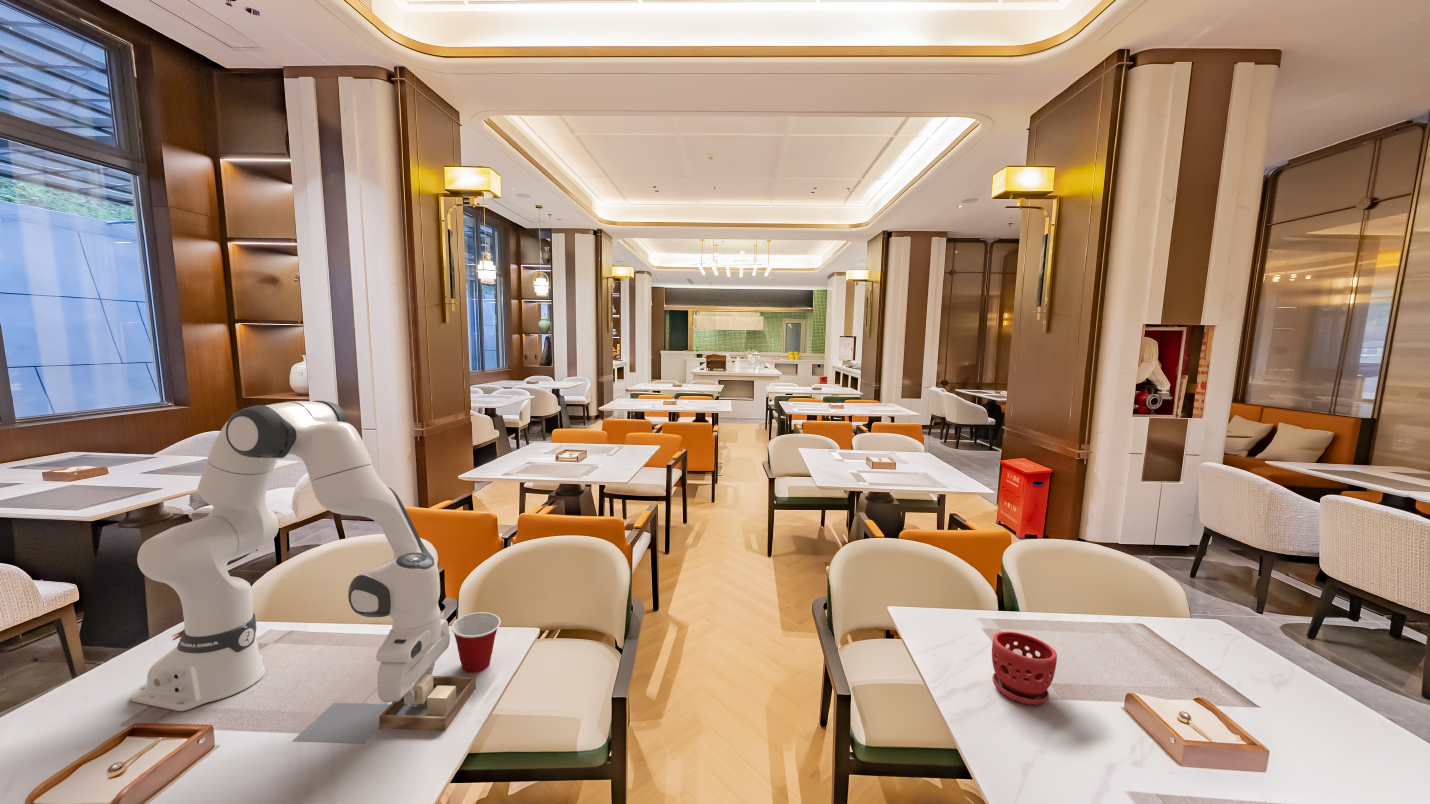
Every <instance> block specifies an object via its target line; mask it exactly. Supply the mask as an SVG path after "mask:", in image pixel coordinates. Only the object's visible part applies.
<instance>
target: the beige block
mask: <svg viewBox="0 0 1430 804" xmlns="http://www.w3.org/2000/svg"><path fill="white" fill-rule="evenodd" d="M456 699H457V690H456V686H437V687H436V688H435V689H433V692H432V693H431V694H430V695H429V696H428V698H427V700H426V702H427V703H426V706H427V708H426V709H427V715H437V716H441V715H442V716H444V715H445V714H446V712H447V711H448V710H449V708H450V707H451V706H452V704H453V703H454V702H455V701H456Z"/></svg>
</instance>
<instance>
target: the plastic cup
mask: <svg viewBox="0 0 1430 804" xmlns="http://www.w3.org/2000/svg"><path fill="white" fill-rule="evenodd" d="M501 624H502V621H501V617H499V616H498V615H496V614H494V613H491V612H484V611H480V612H479V611H478V612H471V613H468V614H465V615H462V616H460V617H458V618H457V619H455V620H454V621H453V623H452V624H451V631H452V632H453V634H454V635H453V636H454V638H455V642H456V647H457V651H458V656H459V661H460V664H461V665H460V666H461V669H462V671H463V672H464V673H466V674H467V673H468V674H475V673H479V672H481V671H484V670H486V669H487V668H488V667H489V666H490V664H491V660H492V659H491V658H492V655H493V649H494V644H495V638H496V634H497V631H498V629H499V627H500V625H501Z"/></svg>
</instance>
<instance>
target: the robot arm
mask: <svg viewBox="0 0 1430 804" xmlns="http://www.w3.org/2000/svg"><path fill="white" fill-rule="evenodd" d="M219 431H220V432H219V433H218V434H217V436H216V439H215V440H214V442H213V444H212V446H211V449H210V451H209V454H208V456H207V459H206V462H205V464H204V468H203V471H202V474H201V477H200V480H199V483H198V485H197V492H198V495H199V496H200V498H201V499H202V500H203V501H204V502H205V503H207V504H208V505H211V506H212V507H213V508H212V510H211V512H210V513H209V514H208V515H206V516H204V517H203V518H200V519H199V518H198V519H195V520H192V521H190V522H189V521H188V522H186V523H182V524H179V525H176V526H172V527H170V528H168V529H166V530H164V531H162V532H160V533H157V534H155V535H154V536H152V537H150V538H149V539H147V540H145V541H144V542H143V543H142V544H141V546H140V548H139V550H138V553H137V558H136V561H137V566H138V568H139V570H140V572H141V573H142V574H143V575H144V576H145V577H146V578H148V579H150V580H152V581H155V582H159V583H163V584H166V585H167V586H170V588H172V589H173V590H174V591H175V593H176V594H177V596H178V597H179V599H180V603H181V607H182V615H183V622H184V628H183V630H180V631H179V632H177V633H175V634H173V635H171V636H172V637H174V638H173V639H172V641H176V640H177V639H179V638H180V639H179V641H178V643H177V646H176V647H174V648H173V649H171V650H170V651H169V652H168V653H166V654H165V655H164V656H162V657H161V658H159V659H158V660H157V661H156V662H154V663H153V664H152V665H151V666H150V667H149V670H148V673H147V676H146V682H145V683H144V684H142V685H140V686H139V688H137V689H136V690H135V691H134V692H133V693H132V694H131V695H130V696H131V697H130V701H131V702H134V703H139V704H143V705H148V706H153V707H158V708H163V709H166V710H167V709H168V710H171V711H176V712H184V711H188V710H191V709H194V708H196V707H198V706H201V705H204V704H207V703H210V702H211V703H212V702H214V701H218V700H222V699H224V698H228V697H230V696H233V695H235V694H237V693H239V692H240V693H241V692H242V691H244V690H246V689H248V688H249V687H251V686H252V685H255V683H257V682H258V681H259V680H261V679H262V677H263V676H264V675H265V673H266V667H265V665H264V657H263V655H262V654H261V652H260V648H259V642H258V638H257V634H256V632H257V618H256V614H255V613H254V611H253V609H254V608H253V596H252V592H253V591H252V586H251V584H250V582H248V581H247V580H245V579H244V578H241V577H238V576H231V575H230V573H229V571H228V568H227V567H228V563H229V562H231V561H233V560H236V559H238V558H241V557H245V556H246V555H248V554H251V553H254V552H256V551H257V550H259V549H261V548H262V547H264V546H266V544H269V543H270V542H271V541H272V540H274V539H275V537H277V534H278V533H279V528H280V524H279V519H278V517H277V515H276V513H275V512H274V511H273V510H272V509H271V508H268V507H267V505H266V494H267V490H268V487H269V483H270V482H271V479H272V475H273V472H274V469H275V467H276V463H277V460H278V459H284V458H286V457H287V455H293V456H296V457H298V458H300V459H301V460H302V461H303V462H304V465H305V467H306V471H307V474H308V478H309V481H310V485H311V488H312V490H313V493H314V497H315V498H316V500H317V502H318V503H319V504H320V506H321V507H323V508H324V509H325V510H327V511H330V512H331V513H335V514H338V515H342V516H352V517H353V516H356V517H357V516H358V517H365V518H368V519H371V520H373V521H375V522H376V523H377V524H378V525H379V526H380V529H381V530H382V532H383V534H384V536H385V539H386V540H387V542H388V544H389V546H390V547H391V550H392V552H393V558H391V559H390V560H388V561H385V562H383V563H381V564H379V565H376V566H374V567H372V568H370V569H367V570H365V571H363V572H361V573H360V574H359V575H357V576H355V577H353V579H352V580H351V582H350V584H349V587H348V592H347V593H348V594H347V597H348V603H349V605H350V607H351V610H352V611H354V612H355V613H356V614H357V615H359V616H362V617H365V618H385V617H391V629H389V632H388V634H387V635H386V636H387V637H386V638H385V639H384V641H383V643H382V644H381V645H380V647H379V648H378V649H377V652H376V653H375V654H376V655H375V656H376V661H377V662H380V663H379V666H378V668H377V669H378V670H377V689H378V690H377V693H378V694H377V695H378V699H380V701H382V702H385V703H392V702H398V701H400V700H401V698H402V697H403V696H405V703H408V705H413V704H412V703H413V702H414V701H415V700H416V699H417V691H414V690H413V688H414V684H415V683H416V682H417V681H418V680H419V679H420V678H421V677H422V675H423V674H433V672H434V668H435V664H436V663H435V662H437V660H438V659H439V658H440V657H441V656H442V655H443V653H445V651H447V649H448V648H449V645H450V641H451V638H450V636H451V635H450V627H449V623H448V622H449V621H448V620H447V619H446V618H445V616H446V615H445V612H444V611H441V609H440V606H439V600H440V595H441V581H440V579H441V578H440V571H439V566H438V564H437V561H436V559H435V557H434V556H433V555H432V554H431V553H430V552H429V550H428V549H427V548H426V546H425V545H424V543H423V542H422V539H421V537H420V535H419V534H418V532H417V530H416V528H415V525H414V524H413V521H412V519H411V518H410V516H409V513H408V511H407V510H406V507H405V506H404V504H403V502H402V500H401V499H400V497H399V495H398V494H397V493H396V491H395V490H394V489H392V488H391V487H388V486H387V485H386V484H385V483H384V481H382V480H381V478H380V477H379V475H378V474H377V471H376V470H375V466H374V465H373V461H372V459H371V456H370V453H369V451H368V449H367V447H366V445H365V442H364V441H363V439H362V437H361V435H360V434H359V432H358V430H357V429H356V427H354V426H353V425H352V424H350V423H349V420H348V416H347V414H346V412H345V410H344V409H343V408H342V407H341V406H339V405H338V404H337V403H333V402H331V401H330V402H329V401H326V400H325V401H324V400H313V401H309V400H308V401H307V400H296V401H295V400H294V401H293V400H291V401H285V402H278V403H271V404H266V405H263V404H260V405H258V404H257V405H252V406H248V407H245V408H242V409H239V410H237V411H236V412H234V413H233V414H231V415H230V417H229V419H228V420H227V421H226V422H225V424H224V425H223V426H222V428H221V430H219Z"/></svg>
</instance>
